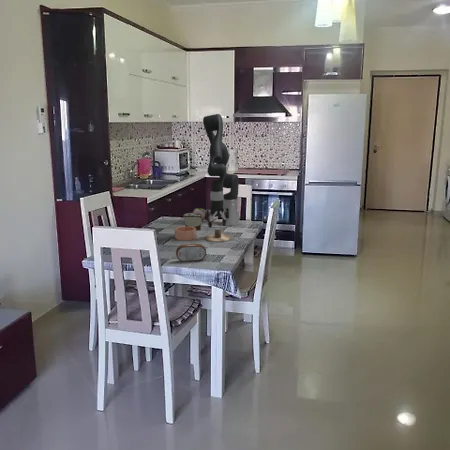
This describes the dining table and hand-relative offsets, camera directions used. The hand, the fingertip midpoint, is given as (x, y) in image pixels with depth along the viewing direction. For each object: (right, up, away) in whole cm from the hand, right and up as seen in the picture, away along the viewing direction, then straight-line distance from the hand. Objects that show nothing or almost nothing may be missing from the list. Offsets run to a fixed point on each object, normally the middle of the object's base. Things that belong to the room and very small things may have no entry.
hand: (216, 226), depth 267 cm
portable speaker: (-12, -17, -36) cm, 42 cm away
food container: (-15, -2, +25) cm, 30 cm away
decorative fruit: (-12, +3, +46) cm, 48 cm away
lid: (+1, -7, +2) cm, 7 cm away
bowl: (-18, -7, +4) cm, 20 cm away
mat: (+1, -7, +2) cm, 8 cm away
